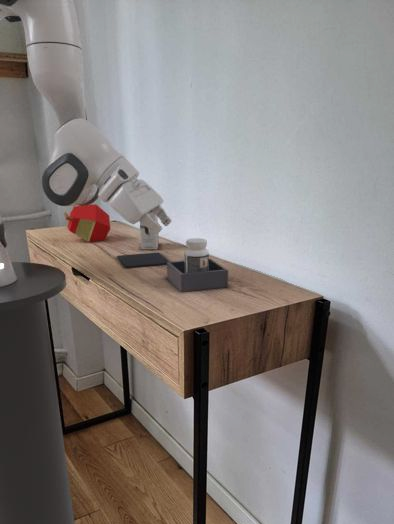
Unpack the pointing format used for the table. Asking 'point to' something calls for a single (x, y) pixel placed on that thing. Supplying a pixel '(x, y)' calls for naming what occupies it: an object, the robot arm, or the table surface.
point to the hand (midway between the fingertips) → (164, 227)
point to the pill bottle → (196, 256)
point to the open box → (197, 276)
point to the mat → (142, 260)
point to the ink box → (149, 236)
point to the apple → (89, 222)
